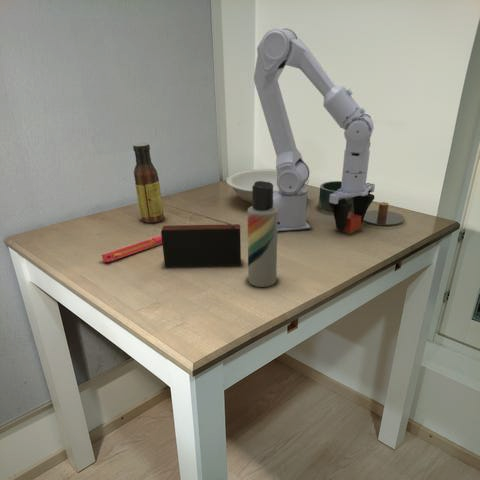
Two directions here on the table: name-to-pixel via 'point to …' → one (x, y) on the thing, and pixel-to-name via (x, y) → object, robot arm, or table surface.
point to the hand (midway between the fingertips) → (349, 225)
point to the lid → (383, 216)
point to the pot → (325, 195)
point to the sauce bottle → (147, 185)
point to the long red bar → (132, 249)
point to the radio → (201, 244)
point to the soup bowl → (252, 181)
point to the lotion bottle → (262, 236)
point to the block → (352, 222)
